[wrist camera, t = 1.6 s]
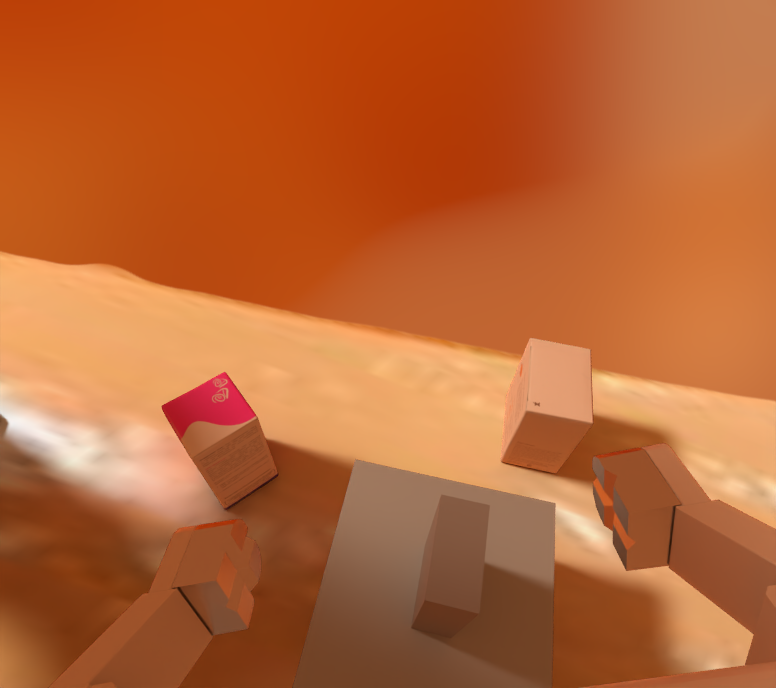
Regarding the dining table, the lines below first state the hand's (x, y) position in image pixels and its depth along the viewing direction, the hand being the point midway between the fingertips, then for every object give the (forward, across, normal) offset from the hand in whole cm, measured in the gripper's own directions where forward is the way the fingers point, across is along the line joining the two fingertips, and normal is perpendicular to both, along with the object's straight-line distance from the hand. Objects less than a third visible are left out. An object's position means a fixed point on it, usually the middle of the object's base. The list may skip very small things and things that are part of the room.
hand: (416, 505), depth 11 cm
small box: (+31, -9, +28) cm, 42 cm away
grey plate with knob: (+12, +2, +22) cm, 25 cm away
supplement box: (+27, +20, +22) cm, 40 cm away
